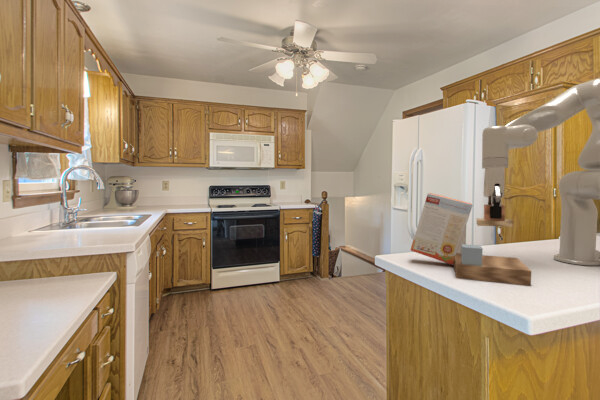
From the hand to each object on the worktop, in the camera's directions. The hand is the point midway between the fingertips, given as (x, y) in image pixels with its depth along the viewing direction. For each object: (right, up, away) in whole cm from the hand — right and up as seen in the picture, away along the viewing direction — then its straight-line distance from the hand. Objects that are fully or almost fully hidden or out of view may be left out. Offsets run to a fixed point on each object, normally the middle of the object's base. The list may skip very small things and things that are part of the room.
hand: (494, 216), depth 108 cm
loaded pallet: (0, -3, 0) cm, 3 cm away
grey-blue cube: (-16, -13, -15) cm, 25 cm away
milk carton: (-9, -16, +11) cm, 21 cm away
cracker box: (-21, -14, +1) cm, 25 cm away
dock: (-9, -17, -12) cm, 22 cm away
